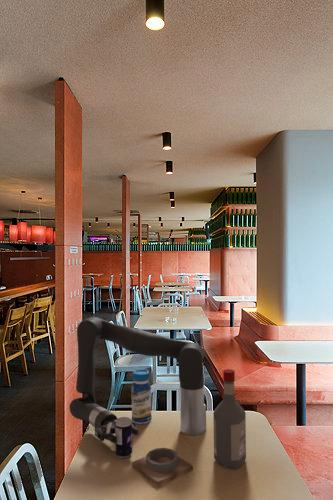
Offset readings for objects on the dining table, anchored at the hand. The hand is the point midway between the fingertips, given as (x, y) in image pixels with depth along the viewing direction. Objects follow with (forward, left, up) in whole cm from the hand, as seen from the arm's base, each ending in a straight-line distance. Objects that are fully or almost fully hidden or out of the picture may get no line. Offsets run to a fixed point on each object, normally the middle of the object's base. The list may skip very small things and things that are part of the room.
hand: (126, 436), depth 134 cm
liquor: (-25, +24, -7) cm, 35 cm away
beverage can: (0, -2, -7) cm, 7 cm away
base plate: (-5, +13, -7) cm, 16 cm away
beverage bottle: (-20, -20, -7) cm, 29 cm away
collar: (-5, +13, -6) cm, 15 cm away
